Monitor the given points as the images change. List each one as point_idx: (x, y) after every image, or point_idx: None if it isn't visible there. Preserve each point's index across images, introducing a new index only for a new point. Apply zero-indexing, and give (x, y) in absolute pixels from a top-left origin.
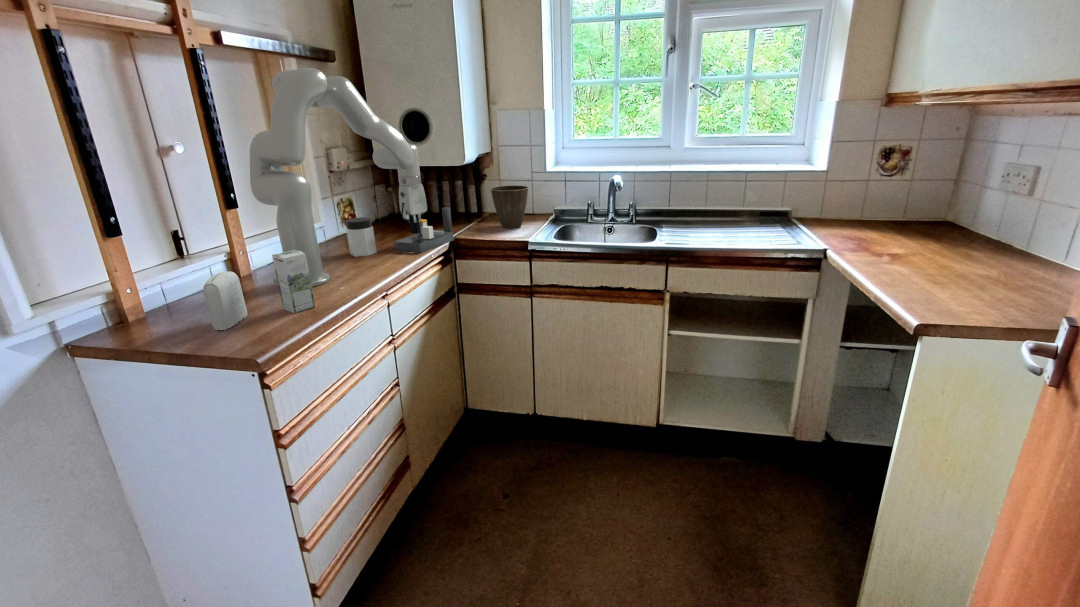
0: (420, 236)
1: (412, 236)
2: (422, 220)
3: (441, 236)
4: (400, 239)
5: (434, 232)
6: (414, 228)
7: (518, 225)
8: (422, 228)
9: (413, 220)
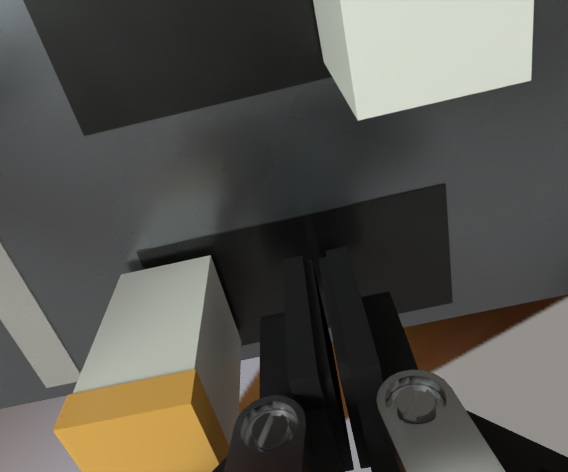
0: (308, 213)
1: (362, 293)
2: (157, 433)
3: None
4: (539, 295)
5: (28, 233)
6: (398, 317)
7: None
8: (515, 48)
9: (465, 426)
